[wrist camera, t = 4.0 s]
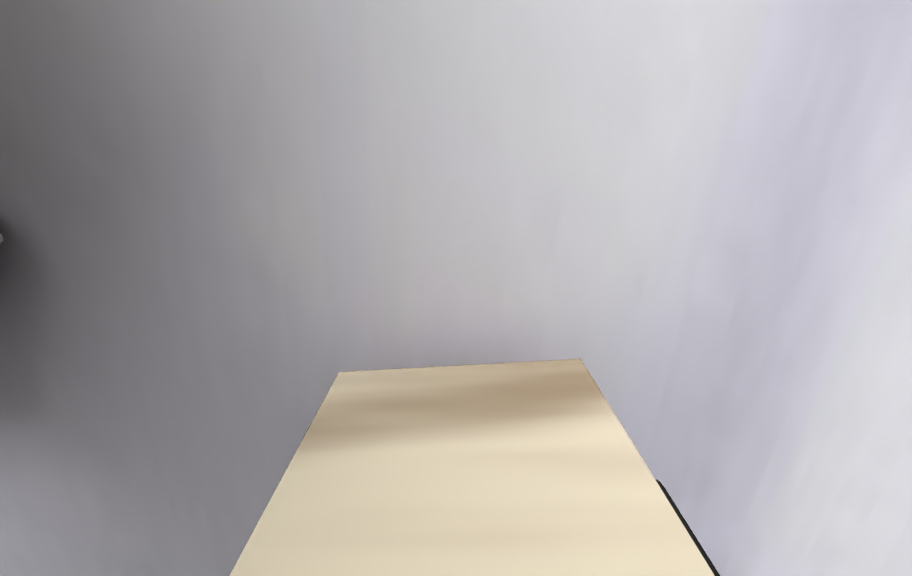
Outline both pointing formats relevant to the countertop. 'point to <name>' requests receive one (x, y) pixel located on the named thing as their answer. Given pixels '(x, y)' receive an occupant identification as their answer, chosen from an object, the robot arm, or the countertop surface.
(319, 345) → the countertop surface
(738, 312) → the countertop surface
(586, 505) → the birch block
